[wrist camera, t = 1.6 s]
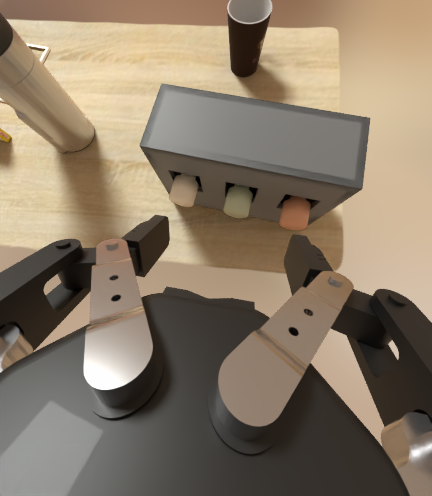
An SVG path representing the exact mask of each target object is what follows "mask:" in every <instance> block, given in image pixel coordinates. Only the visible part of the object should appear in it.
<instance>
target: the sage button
mask: <svg viewBox="0 0 432 496" xmlns="http://www.w3.org/2000/svg"><path fill="white" fill-rule="evenodd" d="M252 196H253V194H252V192H251V191H250V190H249V186H244V185H239V184H235V186H234V187H231V188H229V190H228V193H227V197H226V201H225V205H224V209H223V212H224V213H225V214H227V215H228V216H231V217H234V218H246V217H248V214H249V209H250V205H251V201H252Z"/></svg>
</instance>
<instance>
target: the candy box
mask: <svg viewBox="0 0 432 496" xmlns="http://www.w3.org/2000/svg"><path fill="white" fill-rule="evenodd" d="M10 139H11V136H10V135H9V134H7V133H6V132H4V131H3V130H2V129H0V140H1V141H4V142H7V143H8V142H9V141H10Z"/></svg>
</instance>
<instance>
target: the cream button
mask: <svg viewBox="0 0 432 496" xmlns="http://www.w3.org/2000/svg"><path fill="white" fill-rule="evenodd" d="M195 179H196V176H195V175H190V174H185V173H181V175H177V176H175V179H174V182H173V185H172V188H171V192H170V195H169V199H170V200H171V201H172V202H173V203H175V204H177V205H180V206H184V207H192V206H193V204H194V200H195V197H196V193H197V190H198V186H199V185H198V183H197V181H196V180H195Z"/></svg>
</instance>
